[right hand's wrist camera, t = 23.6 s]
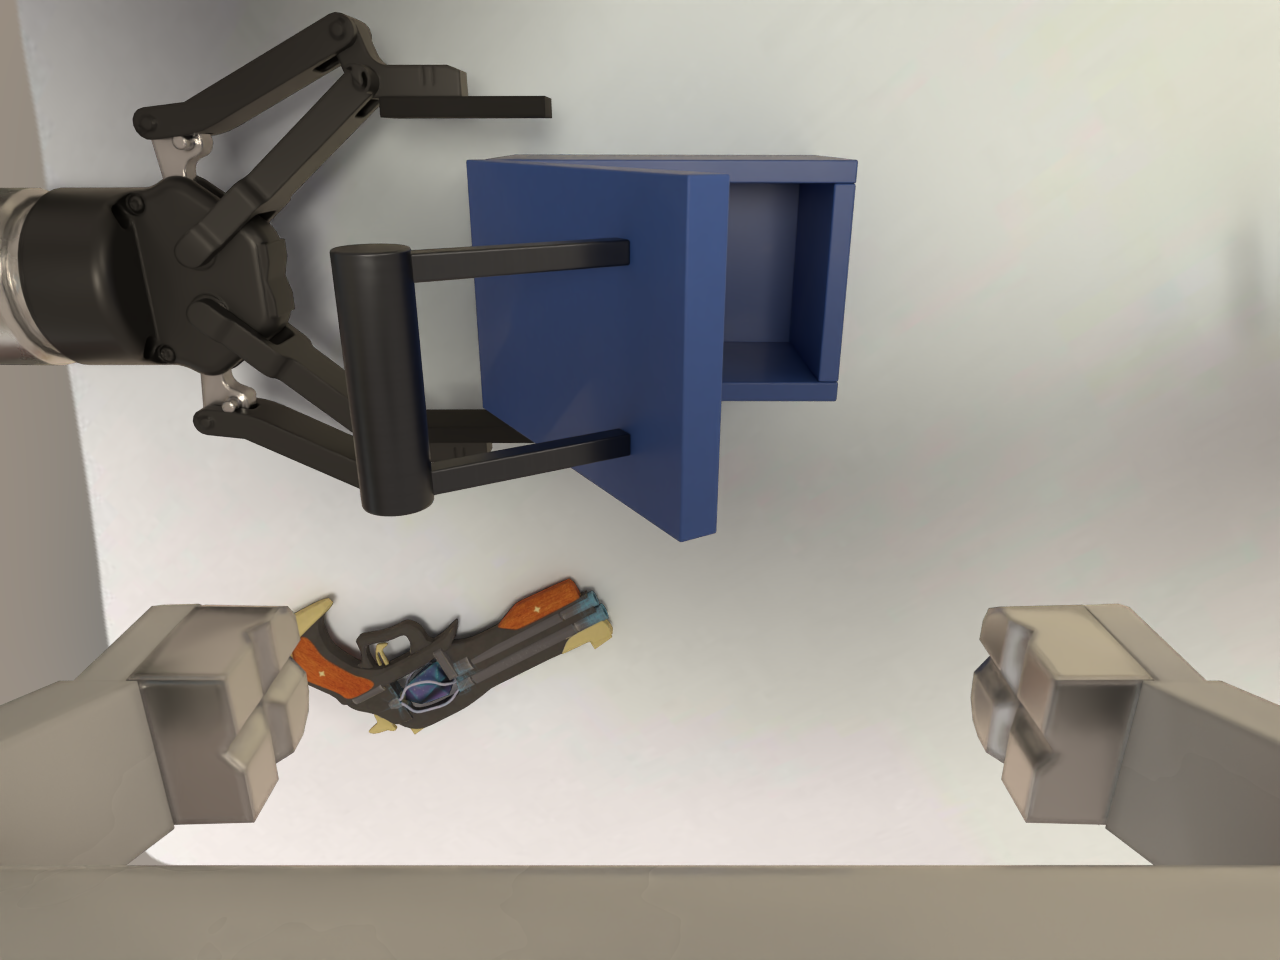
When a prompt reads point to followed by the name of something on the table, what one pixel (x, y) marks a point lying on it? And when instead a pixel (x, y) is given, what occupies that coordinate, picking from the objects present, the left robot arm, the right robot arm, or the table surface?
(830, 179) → the chest
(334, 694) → the toy gun
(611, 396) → the lid
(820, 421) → the table surface
